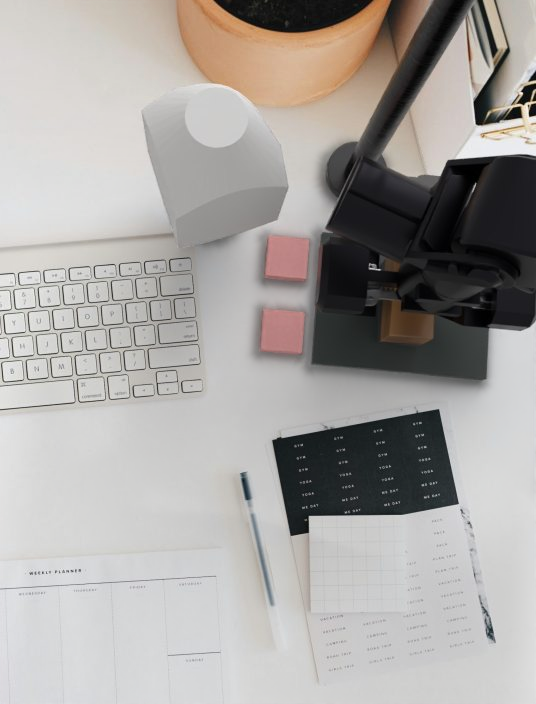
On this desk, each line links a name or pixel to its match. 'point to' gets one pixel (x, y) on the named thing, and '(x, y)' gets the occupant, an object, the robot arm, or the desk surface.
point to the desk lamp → (401, 88)
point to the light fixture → (213, 162)
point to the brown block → (401, 320)
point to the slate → (427, 359)
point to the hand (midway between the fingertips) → (400, 304)
